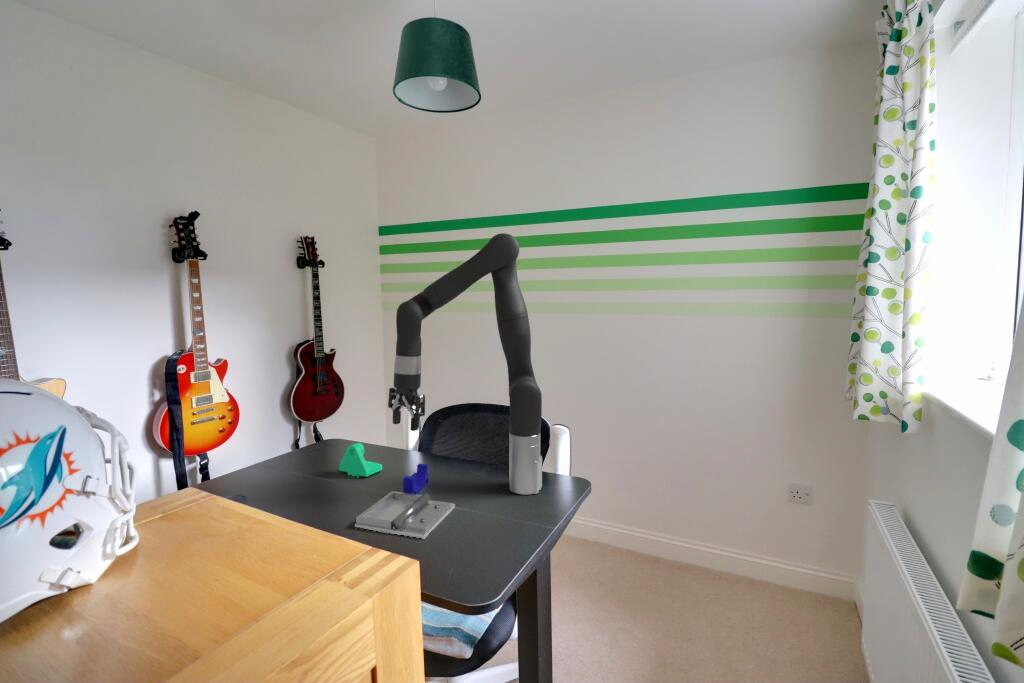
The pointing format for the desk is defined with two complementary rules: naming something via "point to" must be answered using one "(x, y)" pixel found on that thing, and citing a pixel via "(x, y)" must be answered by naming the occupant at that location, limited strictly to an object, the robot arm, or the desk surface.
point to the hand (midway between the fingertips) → (405, 426)
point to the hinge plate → (398, 510)
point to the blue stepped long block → (416, 480)
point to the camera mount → (358, 462)
